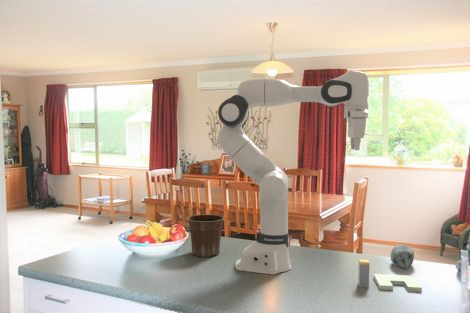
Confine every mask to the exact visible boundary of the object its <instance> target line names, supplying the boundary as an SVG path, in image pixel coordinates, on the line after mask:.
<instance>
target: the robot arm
mask: <svg viewBox="0 0 470 313" xmlns="http://www.w3.org/2000/svg"><path fill="white" fill-rule="evenodd" d="M369 87H370V86H369V78H368V75H367V73H365V72H363V71H360V70H347V72H346V73H344V74H342V75H340V76H338V77H335V78H332V79H330V80H326V81H325V83H324V84H322V85H319V86H302V85H301V86H299V85H294V84H291V83H289V82H287V81H286V80H284V79H280V78H279V79H278V78H271V77H269V78H268V77H267V78H266V77H265V78H263V77H262V78H253V79H252V78H251V79H247V80H243V81H241V82H240V84H239V85H238V87H237V94H234V95H232V96H231V97H228V98H227V99H226V100H224V101H223V102H221V103H220V105H219V107H218V110H217V116H218V119H219V120H220V121H221V123H222V124H223V127H222V129H220V131H219V132H218V134H217V138H216V140H217V143H218V145H219V146H220V148H221V149H222V150H223V152H224V154H226V155H227V156H228V158H229V159H231V160H230V161H232V162H233V163H234V164H235V165H236V166H237V168H239V169H240V170H241V171H242V173H244V174H245V175H246V176H248V178H250V179H252V181H254V183H256V184H257V185H258V187H259V211H260V213H259V214H260V216H259V217H260V218H259V219H260V220H259V222H260V227H259V230H258V229H256V230H255V232H254V241H253V242H252V243H250V244H249V245H248V246H246V247H245V248H244V249H243V250H242V252H241V255H240V258H239V259H237V260H236V262H235V265H234V266H235V267H234V268H235V269H236V270H237V271H240V272H241V271H242V272H248V273H256V274H257V273H258V274H265V275H276V274H279V273H284V272H288V271H290V270H291V269H292V265H291V260H290V254H289V252H290V251H289V247H290V234H289V186H290V185H289V184H290V182H289V177H288V176H287V174H286V173H285V172H284V170H282V169H281V168H280V167H279V166H278V165H277V164H276V163H275V162H274V161H272V160H271V159H270V158H269V157H268V156H267V155H266V154H265V153H264V152H263V151H262V150H261V149H260V148H259V147H258V146H257V145H256V143H254V142H253V141H252V139H250V137H248V135H246V133H245V132H244V131H243V129H244V127H245V125H246V123H247V121H248V119H249V117H250V110H251V109H252V108H256V107H267V108H268V107H279V106H284V105H287V104H291V103H318V104H321V105H323V106H325V107H329V108H334V107H335V108H336V107H338V106H339V105H340V104H344V105H343V107H344V109H343V118H344V119H347V137H348V138H350V149H351V150H354V151H360V147H361V146H360V145H361V140H362V139H364V137H365V133H366V124H367V119H368V118H369V103H368V98H369V94H370V93H369V92H370V91H369V90H370V88H369Z"/></svg>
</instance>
